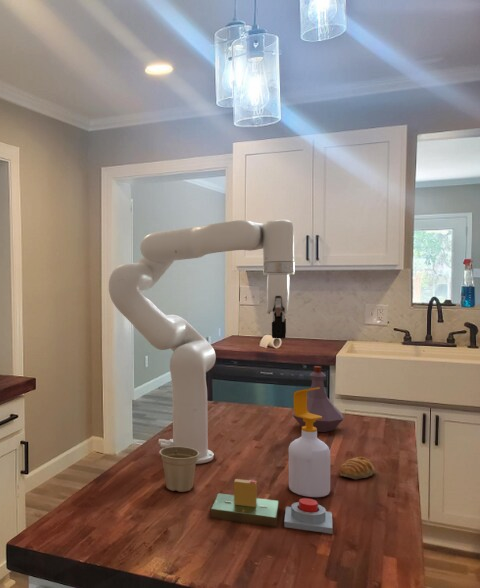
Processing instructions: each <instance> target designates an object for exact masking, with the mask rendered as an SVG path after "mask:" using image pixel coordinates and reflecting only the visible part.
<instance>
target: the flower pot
mask: <svg viewBox="0 0 480 588" xmlns="http://www.w3.org/2000/svg"><path fill="white" fill-rule="evenodd" d="M159 455H160V458H161V461H162V465H163V472H164V480H165V487H166V488H167V490H169V491H172V492H174V491H176V492H179V493H184V492H189V491H191V490H192V489H193V485H194V479H195V478H194V477H195V471H196V465H197V464H196V461H197V457H198V456H199V452H198V451H197V450H195V449H192V448H188V447H180V446H175V447H174V446H173V447H166V448H160V450H159Z"/></svg>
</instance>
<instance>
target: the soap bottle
mask: <svg viewBox="0 0 480 588" xmlns="http://www.w3.org/2000/svg"><path fill="white" fill-rule="evenodd" d="M315 389H320V387H317V388H311V387H310V388H305V389H299V390H298V389H297V390H296V391H294V393H293V411H294V414H295V416H297V417H300V418H303V421H304V422H305V426H303V427H302V426H301V436H300V437H298V438H295V439H294V440H293V441H292V442H290V444H289V446H288V488H289V490H290V491H291V492H292V493H294V494H296V495H299V496H302V497H305V498H323V497H326V496H328V495H330V492H331V450H330V447H329V445H327V443H325V441H323V440H321V439H319V438H318V431H317V428H316V427H313V422H316V419H322V416H319V415H316V414H312V413H309V412H308V410H307V397H308V394H309V392H310V390H315Z"/></svg>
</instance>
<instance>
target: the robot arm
mask: <svg viewBox="0 0 480 588" xmlns="http://www.w3.org/2000/svg"><path fill="white" fill-rule="evenodd" d="M139 246H140V247H139V248H140V249H139V250H140V253H141V255H142V257H141V258H140V259H139V261H138V262H127V263H122V264H120V265H118V266H116V267H115V268H114V269H113V271H112V272H111V273H110V276H109V279H108V294H109V297H110V299H111V301H112V304H113V305H114V307H115V308H116V309H117V310H118V311H119V313H121V314H122V316H124V317H125V319H126V320H128V321H129V323H131V324H132V326H133V327H134V328H135V329H136V330H137V332H139V333H140V334H141V335H142V336H143V337H144V339H146V340H147V341H148V343H149V344H150V345H151V346H152V347H154V348H155V349H156V350H159V351H165V350H166V351H167V350H169V349H170V350H171V351H172V353H171V356H170V359H169V372H170V378H171V388H172V390H171V391H172V393H171V394H172V438H170V439H164V438H163V439H162V438H158V442H157V444H158V446H159V447H160V449H163V448H166V447H173V446H174V447H175V446H180V447H188V448H192V449H195V450H197V451H198V452H199V456H198V457H197V461H196V464H195V465H201V464H206V463H210V462H211V461H213V460H214V458H215V457H214V452H213V451H212V450H210V449H209V441H208V440H209V436H208V435H209V434H208V433H209V431H208V429H209V421H208V420H209V419H208V418H209V417H208V415H209V412H208V409H209V408H208V387H207V386H208V385H207V380H206V373H208V372H209V371H210V370H212V368H213V367H214V366H215V364H216V358H217V355H216V351H215V349H214V347H213V346H212V344H211V343H210V342H209V341H208V340H207V339H206V338H205V337H204V336H203V335H202V334H201V333H199V331H197V329H195V327H194V326H192V324H191V323H190V322H188V321H187V320H186V319H185V318H183V317H182V316H180V315H177V314H166V313H164V312H162V310H161V309H159V307H157V305H155V304H154V302H153V301H152V300H150V299H149V298H147V297H146V296H145V295H144V294H143V293H142V292H146V291H148V290H149V289H151V288H152V287H154V285H155V284H157V283H158V281H159V280H160V278H162V277H163V276H164V274H165V273H166V272H167V270H168V269H169V268H170V267H171V265H172V264H173V263H174V262H175V261H181V260H192V259H199V258H202V257H204V256H206V255H210V254H216V253H224V252H233V251H249V252H250V251H251V252H252V251H258V250H262V272H263V273H262V275H263V276H267V277H266V278H267V280H266V313H267V314H268V315H270V314H271V312H272V321H271V338H272V339H286V336H287V335H286V334H287V319H286V314H287V313H288V310H289V303H290V276H291V275H295V225H294V223H293V221H291V220H288V219H277V220H276V219H275V220H267V221H266V222H254V221H250V220H246V219H239V220H238V219H237V220H231V221H223V222H217V223H216V222H215V223H210V224H205V225H197V226H189V227H183V228H177V229H170V230H162V231H155V232H151V233H149V234H147V235H145V236H144V237H143V238H142V240H141V242H140V245H139Z"/></svg>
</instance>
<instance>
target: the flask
mask: <svg viewBox="0 0 480 588" xmlns="http://www.w3.org/2000/svg"><path fill="white" fill-rule="evenodd" d="M322 369H323V368H322V366H321V365H320V366H319V365H314V366H313V371H312V372H311V373H310V374H309V377H310V379H311V386H310V388H317V387H320V389H315V390H310V391H308V395H307V410H308V412H309V413H312V414H316V415H319V416H322V419H316V422H313V427H316V428H317V433H318V432H319V433H325V432H327V433H328V432H331V431H334V430H335V429H336V428H337V427H338V426H339V424H341V423H342V421H343V420H344V414H343V413H342V412H341V410H339V408H337V406H335V405H334V404H333V402H332V401H331V399H330V398H328V396H327V391H326V388H325V383H324V381H325V378H326V377H327V376H326V374H325V373H323V372H322ZM292 417H293V418H294V419H295V420H296V421H297V423H298V424H299V426H301V428H302V427H303V426H305V422H304V421H303V418H300V417H297V416H295V414H294V410H293V411H292Z"/></svg>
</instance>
